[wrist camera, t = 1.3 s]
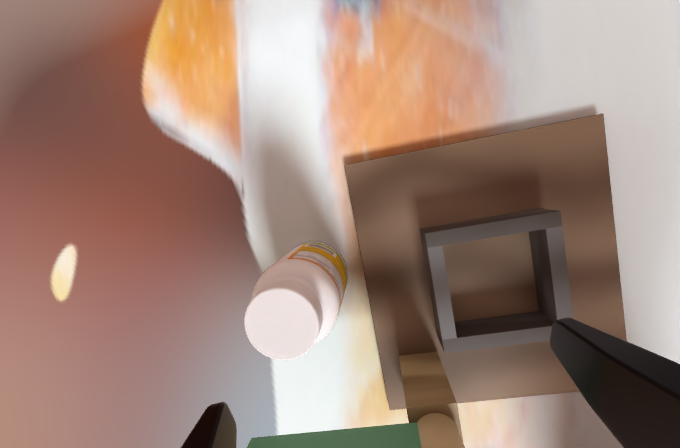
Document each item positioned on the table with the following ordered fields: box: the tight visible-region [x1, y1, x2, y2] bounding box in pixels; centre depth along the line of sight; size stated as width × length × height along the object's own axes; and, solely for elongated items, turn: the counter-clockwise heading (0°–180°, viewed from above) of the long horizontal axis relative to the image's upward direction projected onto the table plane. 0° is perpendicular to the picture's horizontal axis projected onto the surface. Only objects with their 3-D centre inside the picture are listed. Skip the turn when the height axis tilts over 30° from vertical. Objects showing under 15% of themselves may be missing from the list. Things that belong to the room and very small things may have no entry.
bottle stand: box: [345, 114, 626, 441], centre depth 21 cm, size 20×18×7 cm
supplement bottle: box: [244, 242, 347, 360], centre depth 21 cm, size 5×5×10 cm
